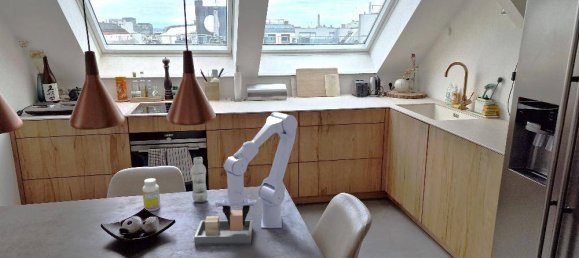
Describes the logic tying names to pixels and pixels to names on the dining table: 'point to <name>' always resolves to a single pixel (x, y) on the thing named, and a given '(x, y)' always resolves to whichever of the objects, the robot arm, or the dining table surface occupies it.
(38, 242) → the dining table surface
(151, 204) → the supplement bottle
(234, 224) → the terracotta block
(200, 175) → the plastic bottle
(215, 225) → the beech block
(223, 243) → the slate tray
